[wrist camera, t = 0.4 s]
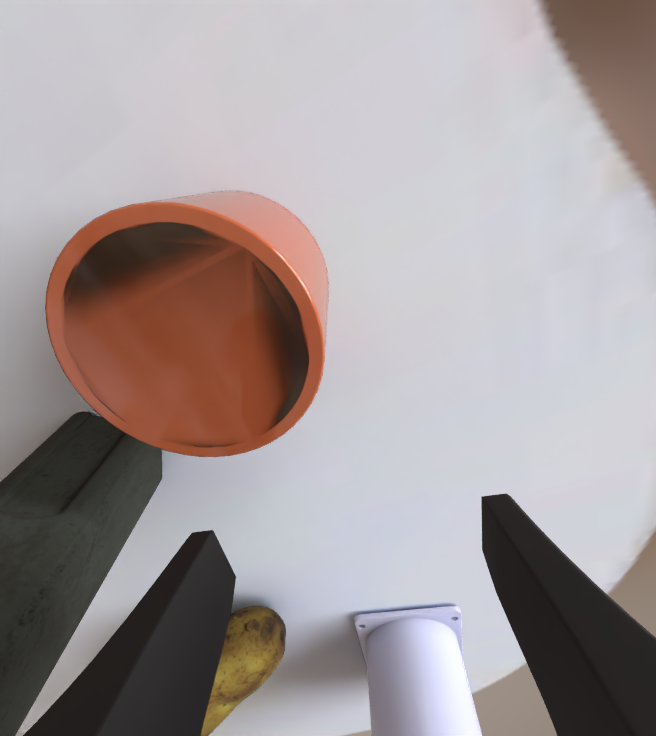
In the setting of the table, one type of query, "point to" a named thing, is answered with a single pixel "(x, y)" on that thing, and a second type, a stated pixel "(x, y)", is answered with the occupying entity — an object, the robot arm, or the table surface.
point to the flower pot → (193, 320)
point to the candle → (62, 545)
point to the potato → (245, 660)
